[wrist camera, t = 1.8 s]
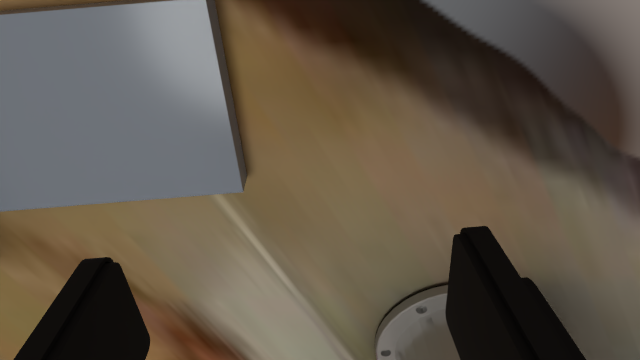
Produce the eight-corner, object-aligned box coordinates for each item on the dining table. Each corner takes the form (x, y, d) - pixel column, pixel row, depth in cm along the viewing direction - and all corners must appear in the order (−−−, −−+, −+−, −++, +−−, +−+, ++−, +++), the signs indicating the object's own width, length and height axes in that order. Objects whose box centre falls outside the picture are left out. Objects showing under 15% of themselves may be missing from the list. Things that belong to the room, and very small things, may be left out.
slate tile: (215, -8, 22) (205, -3, 20) (248, 172, 28) (243, 192, 26) (-120, 19, 22) (-166, 28, 20) (-21, 193, 28) (-48, 215, 26)
